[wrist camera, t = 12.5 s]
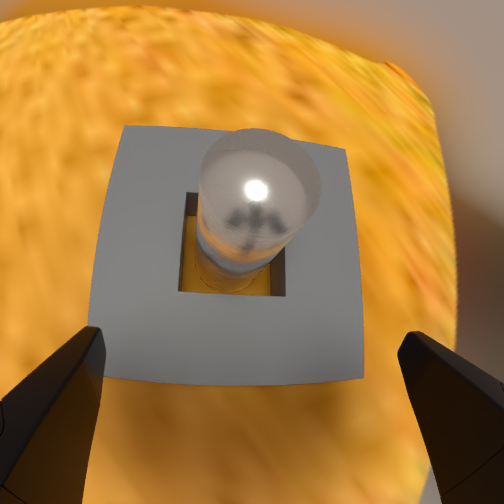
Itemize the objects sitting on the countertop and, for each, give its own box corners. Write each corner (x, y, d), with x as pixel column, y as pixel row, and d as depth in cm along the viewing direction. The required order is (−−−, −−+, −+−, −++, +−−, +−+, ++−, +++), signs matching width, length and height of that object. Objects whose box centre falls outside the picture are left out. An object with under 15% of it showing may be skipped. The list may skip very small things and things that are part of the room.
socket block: (338, 374, 20) (363, 378, 17) (103, 369, 17) (85, 373, 14) (327, 172, 25) (345, 149, 22) (131, 153, 22) (124, 125, 19)
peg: (211, 302, 20) (232, 255, 10) (184, 243, 21) (181, 146, 10) (270, 276, 21) (342, 209, 11) (242, 220, 22) (285, 118, 12)
